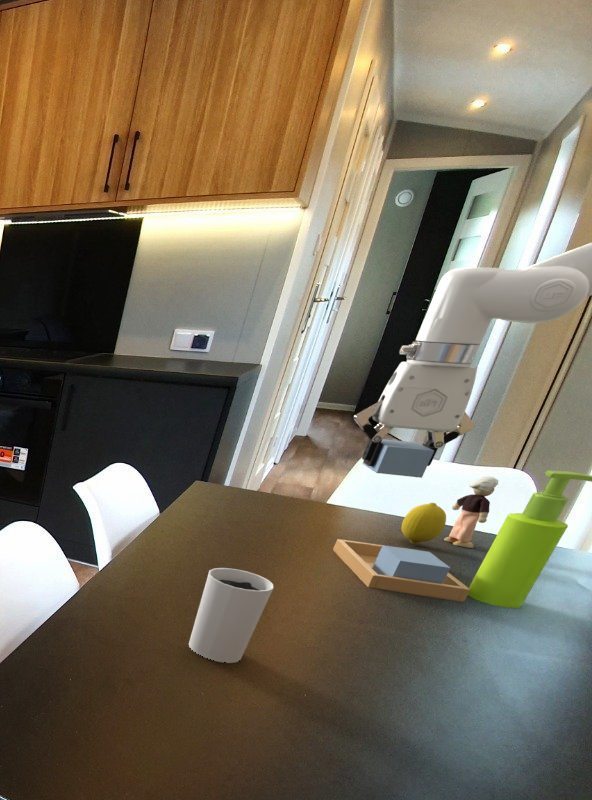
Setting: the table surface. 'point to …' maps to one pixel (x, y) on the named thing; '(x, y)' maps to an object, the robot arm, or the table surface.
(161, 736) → the table surface
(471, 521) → the grandmother figurine
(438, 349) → the robot arm
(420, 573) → the blue-grey block
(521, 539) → the soap dispenser
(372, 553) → the wooden tray
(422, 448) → the blue-gray block
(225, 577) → the white cup
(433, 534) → the lemon
